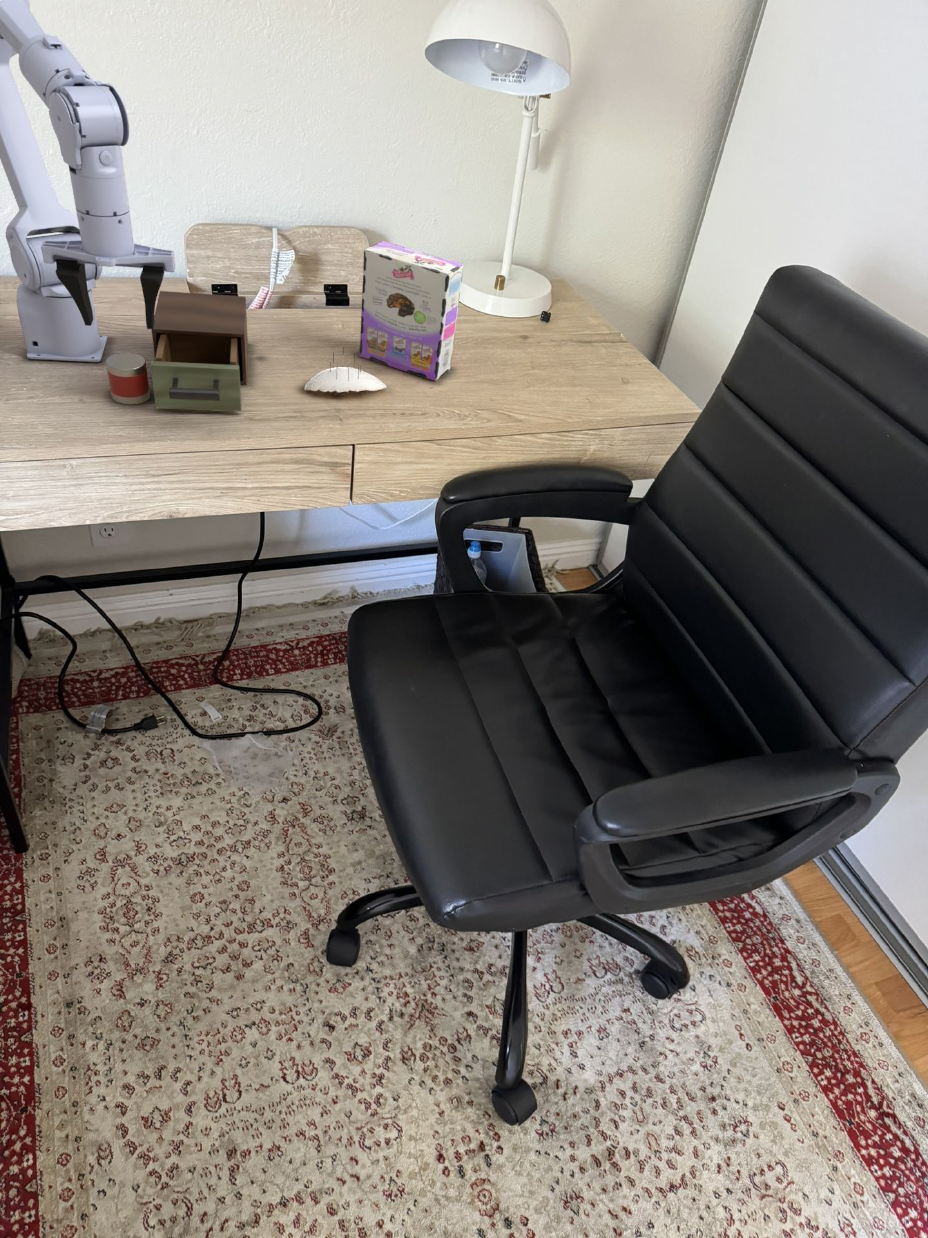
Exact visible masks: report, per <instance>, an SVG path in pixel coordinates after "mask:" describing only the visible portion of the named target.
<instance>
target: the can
mask: <svg viewBox="0 0 928 1238" xmlns="http://www.w3.org/2000/svg"><path fill="white" fill-rule="evenodd" d="M105 364H106V372H107V378H108V382H109V388H110V394H111V398H112V400H113V401H115V402H117V403H119V404H123V405H139V404H143V403H145V402H147V401H148V400H149V399H150V398H151V391H150V382H149V375H148V369H147V363H146V359H145V357H143V356H142V355H140V354H138V353H133V352H119V353H115V354H112V355H110V356H108V357H107V358H106V359H105Z"/></svg>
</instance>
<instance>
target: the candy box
mask: <svg viewBox="0 0 928 1238" xmlns="http://www.w3.org/2000/svg"><path fill="white" fill-rule="evenodd" d="M464 265H465V264H464V263H460V262H457V261H453V260H449V259H446V258H442V257H439V256H435V255H432V254H428V253H426V252H422V251H419V250H415V249H411V248H408V247H404V246H401V245H398V244H395V243H391V242H387V241H384V240H381V241H379V242H377V243H375V244H372V245H371V246H369V247H367V248H365V249H364V250H363V266H362V267H363V268H362V269H363V270H362V291H361V312H360V313H361V314H360V333H359V335H360V336H359V351H358V356H360V357H361V358H364V359H367V360H370V361H372V362H376V363H378V364H382V365H385V366H388V367H392V368H394V369H397V370H400V371H404V372H407V373H409V374H413V375H415V376H419V377H422V378H425V379H427V380H432V381H434V382H437V381H438V380H439V379H441V378H442V376H444V375H445V374H446V373H448V372H450V370H451V368H452V367H451V366H452V358H453V351H454V342H455V335H456V329H457V321H458V320H457V319H458V313H459V303H460V297H461V296H460V295H461V289H462V282H463V273H464Z"/></svg>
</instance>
